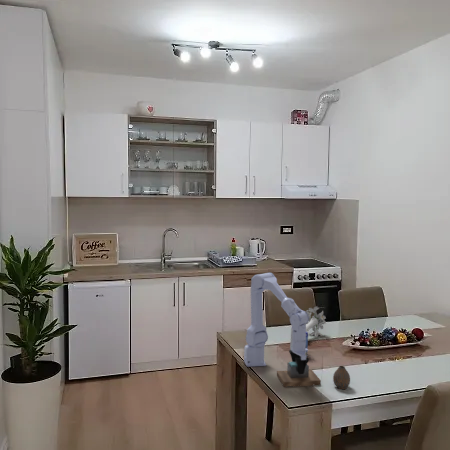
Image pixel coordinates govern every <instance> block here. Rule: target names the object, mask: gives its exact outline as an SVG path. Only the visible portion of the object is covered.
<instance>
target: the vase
mask: <svg viewBox="0 0 450 450" xmlns="http://www.w3.org/2000/svg"><path fill="white" fill-rule="evenodd" d="M332 381H333V384H334V386H335V388H337V389H339V390H345V389H347V388H348V387H349V386H350V384H351V376H350V373H349V372H348V371H347V369H346V367H345V366H344V365H339V366H338V368H337V369H336V370H335V371H334V373H333V377H332Z"/></svg>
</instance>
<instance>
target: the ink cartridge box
mask: <svg viewBox="0 0 450 450" xmlns="http://www.w3.org/2000/svg"><path fill="white" fill-rule="evenodd" d="M308 343H309V332H308V333H307V332H306V347H305V348H307V349H308ZM289 345H290V347H289V350H292V327H291V329H290V343H289ZM306 358H308V351H306Z"/></svg>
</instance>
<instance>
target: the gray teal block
mask: <svg viewBox="0 0 450 450" xmlns="http://www.w3.org/2000/svg"><path fill="white" fill-rule="evenodd" d="M286 367H287V369H286V371H287V374H288V375H289V377H290V378H309V369H310V368H309V367H310V366H309V364H308V363H307V364H306V367H305V371H304V374H299V373H298V367H297V366H295V367H291V365H290V364H289V362H287V366H286Z"/></svg>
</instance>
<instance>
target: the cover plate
mask: <svg viewBox="0 0 450 450" xmlns="http://www.w3.org/2000/svg"><path fill="white" fill-rule="evenodd" d="M288 363H289V364H290V365H291V367H295V366H297V362H296V361H295V362H292V361H289V362H288Z"/></svg>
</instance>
